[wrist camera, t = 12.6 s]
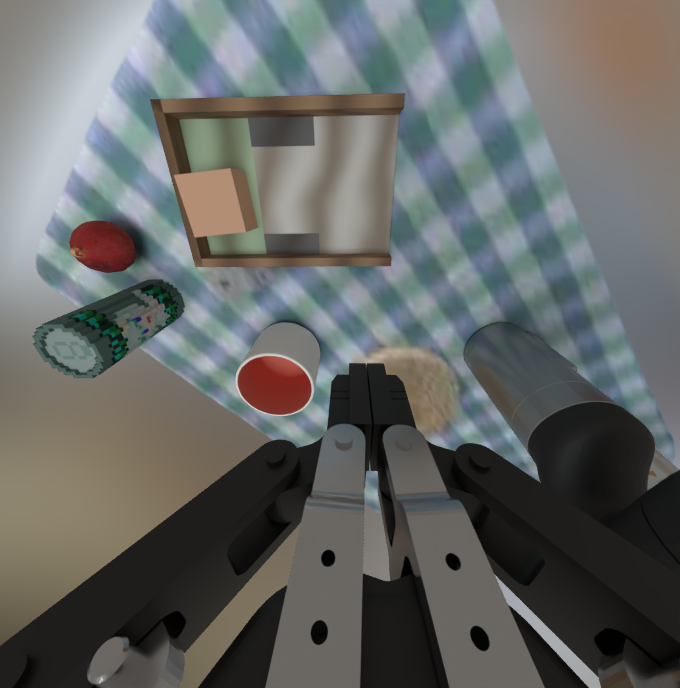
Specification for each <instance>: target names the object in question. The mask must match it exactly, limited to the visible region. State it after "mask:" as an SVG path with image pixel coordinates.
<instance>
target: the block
mask: <svg viewBox="0 0 680 688" xmlns="http://www.w3.org/2000/svg"><path fill="white" fill-rule="evenodd" d="M174 177H175V180H176V183H177V186H178V189H179V192H180V195H181V198H182V201H183V204H184V207H185V210H186V213H187V216H188V219H189V222H190V225H191V228H192V231H193V234H194V237H204V236H213V235H223V234H233V233H242V232H248V231H251V230H253V229H256V228H258V225H257V221H256V216H255V212H254V208H253V203H252V199H251V194H250V190H249V186H248V181H247V177H246V172H245V171H240V170H236V169H232V168H228V169H220V170H211V171H203V172H195V173H187V174H179V175H174Z"/></svg>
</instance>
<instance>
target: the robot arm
mask: <svg viewBox="0 0 680 688" xmlns="http://www.w3.org/2000/svg"><path fill="white" fill-rule="evenodd" d="M464 360H465V362H466V364H467V366H468V367H469V369H470V370H471V371H472V373H473V374H474V376H475V377H476V379H477V380H478V382H479V383H480V385H481V386H482V387H483V389H484V390H485V392H486V393H487V395H488V396H489V397H490V399H491V400H492V402H493V403H494V405H495V406H496V407H497V409H498V410H499V412H500V413H501V415H502V416H503V417H504V419H505V420H506V422H507V423H508V425H509V426H510V427H511V429H512V430H513V432H514V433H515V435H516V436H517V437H518V439H519V440H520V442H521V443H522V444H523V446H524V447H525V449H526V450H527V452H528V453H529V455H530V456H531V457H532V459H533V460H534V462H535V463H536V465H537V470H538V475H539V479H540V482H541V483H540V482H538V481H537V480H535V479H534V478H532V477H531V476H529V475H528V474H526V473H525V472H523V471H522V470H520V469H519V468H517V467H516V466H514V465H513V464H511V463H510V462H509V461H507V460H506V459H504V458H503V457H501V456H500V455H498V454H497V453H495V452H494V451H492V450H490V449H489V448H487V447H485V446H482V445H479V444H474V443H467V444H463V445H461V446H459V447H458V448H457V450H456V451H453V450H449V449H445V448H442V447H439V446H436V445H434V444H431V443H430V442H428V441H427V440H426V439H425V437H424V436H423V434H422V433H421V432H420V431H418V430H417V428H416V425H415V421H414V418H413V415H412V411H411V408H410V404H409V401H408V397H407V394H406V391H405V387H404V384H403V382H402V381H401V380H400V379H399V378H398V377H397V376H396V375H386V371H385V367H384V364H381V363H367V366H366V363H349V375H337V376H336V377H335V378H334V380H333V381H332V384H331V395H330V406H329V417H328V427H327V431H326V432H325V434H324V436H323V437H322V438H321V439H320V440H318V441H317V442H315V443H313V444H310V445H307V446H303V447H299V448H297V447H296V446H295V445H294V444H293V443H291V442H290V441H287V440H274V441H271V442H268V443H266V444H264V445H263V446H261V447H260V448H259V449H258V450H256V451H255V452H254V453H252V454H251V455H250V456H248V457H247V458H246V459H244V460H243V461H242V462H240V463H239V464H238V465H237V466H235V467H234V468H233V469H231V470H230V471H229V472H227V473H226V474H225V475H223V476H222V477H221V478H220V479H218V480H217V481H216V482H214V483H213V484H212V485H210V486H209V487H208V488H207V489H205V490H204V491H202V492H201V493H200V494H199V495H197V496H196V497H195V498H193V499H192V500H191V501H189V502H188V503H187V504H185V505H184V506H183V507H182V508H180V509H179V510H178V511H176V512H175V513H174V514H172V515H171V516H170V517H169V518H167V519H166V520H165V521H163V522H162V523H161V524H159V525H158V526H157V527H155V528H154V529H153V530H151V531H150V532H149V533H148V534H146V535H145V536H144V537H142V538H141V539H140V540H138V541H137V542H136V543H134V544H133V545H132V546H130V547H129V548H128V549H127V550H125V551H124V552H123V553H121V554H120V555H119V556H117V557H116V558H115V559H114V560H112V561H111V562H110V563H108V564H107V565H106V566H104V567H103V568H102V569H100V570H99V571H98V572H96V573H95V574H94V575H92V576H91V577H90V578H89V579H87V580H86V581H85V582H83V583H82V584H81V585H79V586H78V587H77V588H76V589H74V590H73V591H72V592H70V593H69V594H68V595H66V596H65V597H64V598H62V599H61V600H60V601H58V602H57V603H56V604H55V605H53V606H52V607H51V608H49V609H48V610H47V611H45V612H44V613H43V614H41V615H40V616H39V617H37V618H36V619H35V620H34V621H32V622H31V623H30V624H28V625H27V626H26V627H25V628H23V629H22V630H20V631H19V632H18V633H17V634H15V635H14V636H13V637H11V638H10V639H9V640H7V641H6V642H5V643H4V644H3V645H1V646H0V688H179V687H180V684H181V681H182V676H183V672H184V665H185V660H184V659H185V657H184V653H185V652H186V651H187V649H188V648H189V647H190V646H191V645H192V644H193V643H194V642H195V640H196V639H197V638H198V637H199V636H200V635H201V634H202V633H203V632H204V630H205V629H206V628H207V627H208V626H209V625H210V624H211V623H212V621H213V620H214V619H215V618H216V617H217V616H218V614H220V612H221V611H222V610H223V609H224V608H225V607H226V606H227V605H228V604H229V602H230V601H231V600H232V599H233V598H234V597H235V596H236V594H237V593H238V592H239V591H240V590H241V589H242V588H243V587H244V586H245V584H246V583H247V582H248V581H249V579H251V578H252V576H253V575H254V574H255V573H256V572H257V571H258V570H259V569H260V568H261V566H262V565H263V564H264V563H265V562H266V561H267V560H268V559H269V557H270V556H271V555H272V554H273V553H274V552H275V551H276V550H277V548H278V547H279V546H280V545H281V544H282V543H283V541H284V540H285V539H286V538H287V537H288V536H289V535H290V534H291V533H292V532H293V530H294V529H295V528H296V527H297V526H298V525H299V524H300V522H301V525H300V530H299V534H298V539H297V543H296V548H295V553H294V557H293V562H292V567H291V571H290V577H289V581H288V585H287V586H285V587H284V588H282V589H281V590H279V591H277V592H276V593H275V594H274V595H272V596H271V597H270V598H269V599H268V600H267V601H266V602H265V603H264V604H263V605H262V606H261V607H260V608H259V609H258V610H257V611H256V613H255V614H254V615H253V616H252V617H251V619H250V620H249V621H248V623H247V624H246V625H245V627H244V628H243V630H242V631H241V632H240V633H239V635H238V636H237V637H236V638H235V640H234V641H233V643H232V644H231V645H230V647H229V648H228V649H227V650H226V652H225V653H224V654H223V655H222V657H221V658H220V659H219V661H218V662H217V663H216V665H215V666H214V667H213V669H212V670H211V671H210V673H209V674H208V675H207V677H206V678H205V679H204V680H203V682H202V683H201V684H200V686H199V687H198V688H589V687H588V686H587V685H586V684H585V683H584V682H583V681H582V680H581V679H580V678H579V677H578V676H577V675H576V674H575V672H574V671H573V670H572V669H571V668H570V667H569V666H568V665H567V664H566V663H565V662H564V661H563V660H562V659H561V657H560V656H559V655H558V654H557V653H556V652H555V651H554V650H553V649H552V648H551V647H550V646H549V645H548V644H547V642H546V641H545V640H544V639H543V638H542V637H541V636H540V635H539V634H538V633H537V632H536V631H535V630H534V628H533V627H532V626H531V625H530V624H529V623H528V622H527V621H526V620H525V619H524V618H523V617H521V615H519V614H518V613H517V612H516V611H515V610H514V609H513V608H512V607H510V606H509V605H508V604H507V602H506V600H505V597H504V595H503V593H502V591H501V588H500V586H499V584H498V582H497V579H496V577H495V575H496V576H497V577H498V578H499V579H500V580H501V581H502V582H503V583H504V584H505V585H506V586H507V587H508V588H509V589H510V590H511V591H512V592H513V593H514V594H515V595H516V596H517V597H518V598H519V599H520V600H521V601H522V602H523V603H524V604H525V605H526V606H527V607H528V608H529V609H530V610H531V611H532V612H533V613H534V614H535V615H536V616H537V617H538V618H539V619H540V620H541V621H542V622H543V623H544V624H545V625H546V626H547V627H548V628H549V629H550V630H551V631H552V632H553V633H554V634H555V635H556V636H557V637H558V638H559V639H560V640H562V642H563V643H564V644H566V645H567V647H568V648H569V649H570V650H571V651H572V652H574V654H576V656H577V657H578V658H580V659H581V660H582V661H583V662H584V663H585V664H586V665H587V666H588V667H589V668H590V669H591V670H592V671H593V672H594V673H595V674H596V675H597V676H598V677H599V681H600V685H601V688H680V470H679V471H677V472H675V473H673V474H671V475H669V476H668V477H667V478H665V479H663V480H662V481H660V482H659V483H658V484H656V485H655V486H654V487H652V488H651V489H649V490H648V487H647V485H648V475H649V471H650V467H651V464H652V461H653V457H654V453H655V442H654V438H653V436H652V434H651V432H650V431H649V430H648V428H647V427H646V426H645V425H644V424H643V423H641V422H640V421H639V420H638V419H637V418H635V417H634V416H633V415H631V414H630V413H629V412H628V411H626V410H625V409H624V408H622V407H621V406H620V405H618V404H617V403H616V402H615V401H613V400H612V399H611V398H609V397H608V396H607V395H606V394H604V393H603V392H602V391H600V390H599V389H598V388H596V387H595V386H594V385H592V384H591V383H590V382H589V381H587V380H586V379H585V378H583V377H582V376H581V375H580V374H578V373H577V368H576V366H575V365H573V364H572V363H571V362H569V361H568V360H567V359H566V358H564V357H563V356H562V355H560V354H559V353H558V352H556V351H555V350H554V349H552V348H551V347H550V346H548V345H547V344H546V343H544V342H543V341H542V340H540V339H539V338H538V337H536V336H535V335H534V334H532V333H531V332H524V331H523V330H522V329H520V328H519V327H518V326H515V325H513V324H510V323H496V324H492V325H489V326H486V327H484V328H482V329H480V330H479V331H478V332H476V333H475V334H474V335H473V336H472V337H471V338H470V339H469V341H468V343H467V344H466V347H465V350H464ZM369 462H370V467H371V471H378V480H379V483H378V496H379V502H380V508H381V514H382V519H383V525H384V530H385V536H386V542H387V547H388V555H389V571H390V581H383V580H380V579H377V578H374V577H372V576H369V575H366V574H363V541H364V489H365V479H366V471H369ZM494 574H495V575H494Z"/></svg>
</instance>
